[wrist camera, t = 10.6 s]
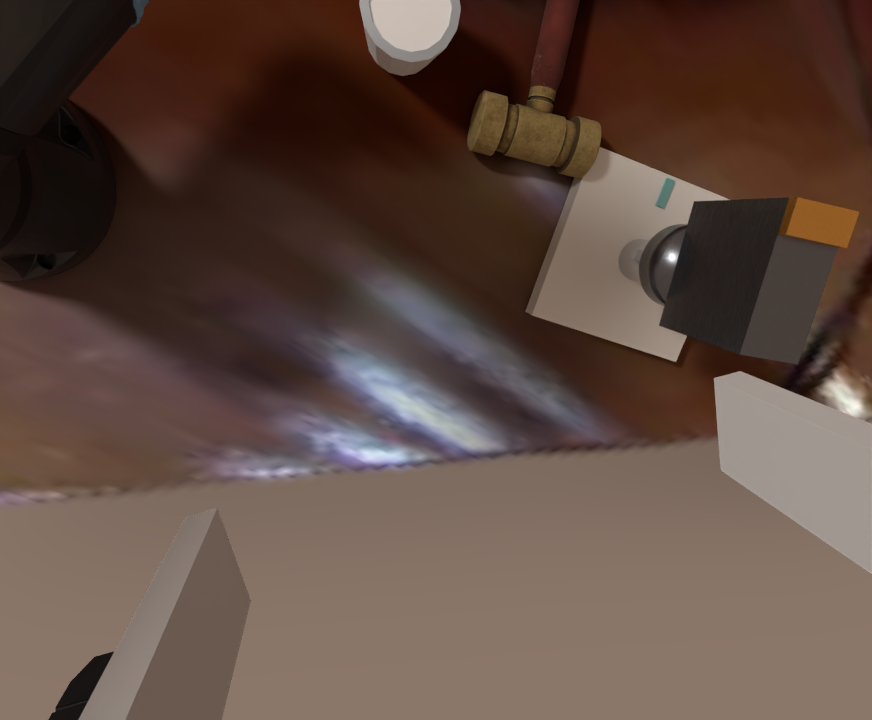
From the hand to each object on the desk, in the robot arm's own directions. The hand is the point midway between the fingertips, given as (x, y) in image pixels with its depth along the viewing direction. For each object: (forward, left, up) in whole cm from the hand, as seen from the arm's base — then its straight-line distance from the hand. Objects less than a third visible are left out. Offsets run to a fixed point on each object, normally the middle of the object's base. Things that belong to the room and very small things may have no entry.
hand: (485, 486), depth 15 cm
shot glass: (-5, +20, -37) cm, 42 cm away
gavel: (+6, +24, -37) cm, 45 cm away
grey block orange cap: (+20, +10, -28) cm, 36 cm away
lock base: (+20, +10, -37) cm, 43 cm away
